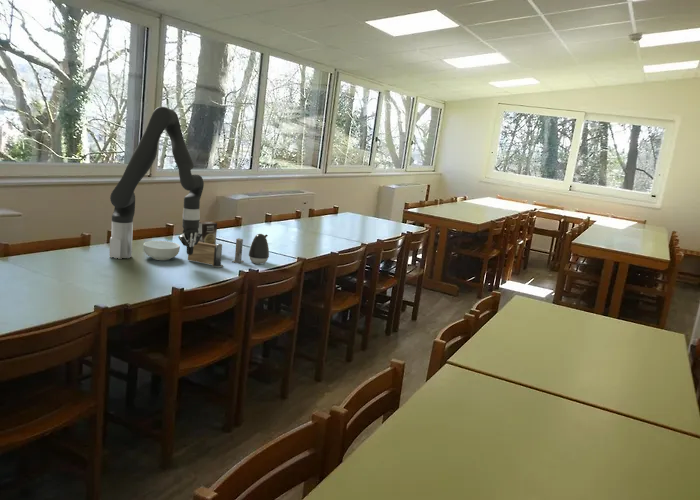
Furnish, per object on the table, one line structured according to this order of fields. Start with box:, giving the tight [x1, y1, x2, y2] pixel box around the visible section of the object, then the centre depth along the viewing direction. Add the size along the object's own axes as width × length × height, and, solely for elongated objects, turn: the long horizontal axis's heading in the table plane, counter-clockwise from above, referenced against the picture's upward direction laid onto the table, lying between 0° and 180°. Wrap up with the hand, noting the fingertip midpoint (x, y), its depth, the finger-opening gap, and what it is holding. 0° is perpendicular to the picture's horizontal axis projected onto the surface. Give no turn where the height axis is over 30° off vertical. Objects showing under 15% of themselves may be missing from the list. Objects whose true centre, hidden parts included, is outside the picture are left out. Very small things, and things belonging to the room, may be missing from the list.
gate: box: [187, 241, 216, 266], centre depth 261 cm, size 2×14×10 cm, turn 74°
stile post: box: [231, 237, 245, 265], centre depth 271 cm, size 4×4×12 cm
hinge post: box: [211, 243, 224, 269], centre depth 259 cm, size 5×5×11 cm
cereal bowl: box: [142, 240, 181, 261], centre depth 262 cm, size 17×17×7 cm
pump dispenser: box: [248, 233, 270, 265], centre depth 275 cm, size 10×10×15 cm
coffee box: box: [198, 221, 218, 245], centre depth 282 cm, size 9×6×16 cm
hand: (189, 254), depth 252 cm, fingers closed
